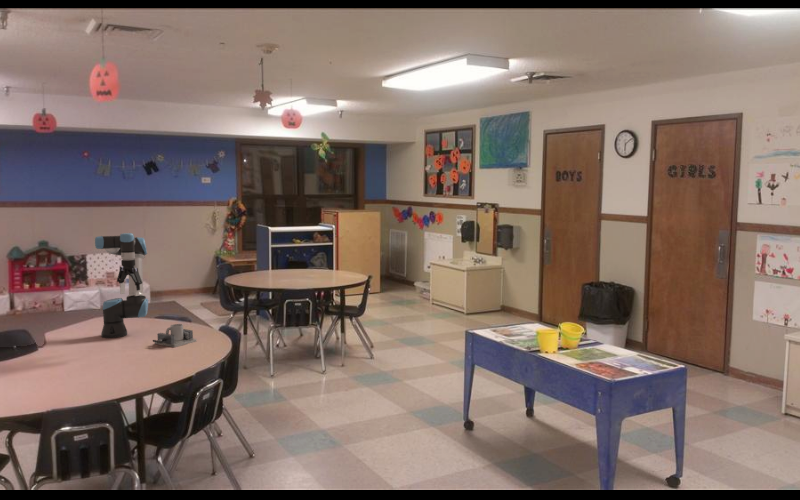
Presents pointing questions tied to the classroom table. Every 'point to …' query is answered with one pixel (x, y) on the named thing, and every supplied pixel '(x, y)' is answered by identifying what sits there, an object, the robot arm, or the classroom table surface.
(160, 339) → the vise
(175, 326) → the cup
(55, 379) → the classroom table surface
